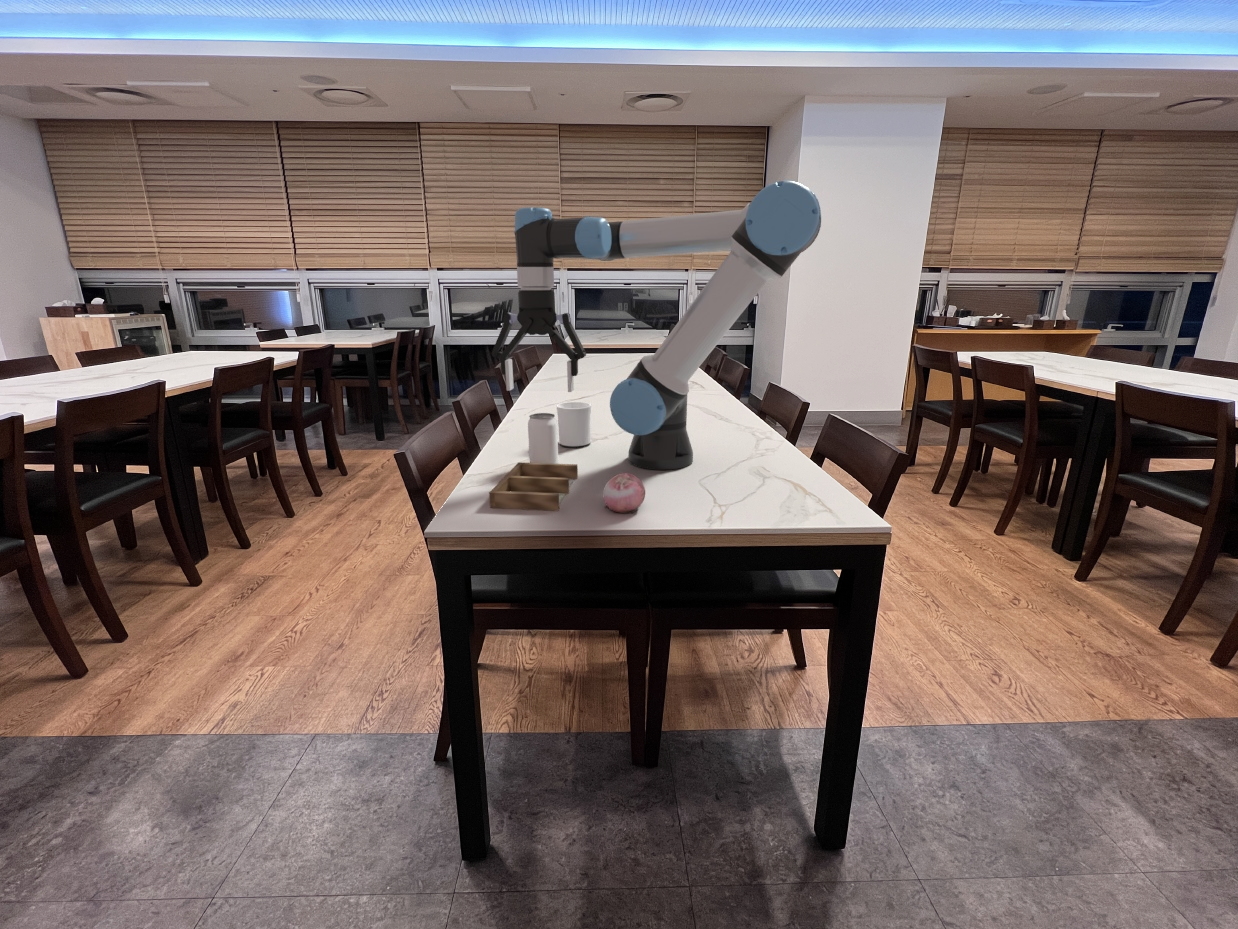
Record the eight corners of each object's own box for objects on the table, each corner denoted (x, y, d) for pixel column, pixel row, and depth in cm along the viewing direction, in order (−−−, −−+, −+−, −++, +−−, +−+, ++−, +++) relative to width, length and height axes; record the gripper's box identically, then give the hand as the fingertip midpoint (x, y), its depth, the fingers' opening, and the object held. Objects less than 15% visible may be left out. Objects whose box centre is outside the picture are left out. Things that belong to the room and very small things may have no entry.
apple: (619, 523, 105) (605, 489, 102) (603, 512, 112) (589, 479, 109) (656, 503, 107) (644, 469, 105) (638, 494, 114) (626, 461, 112)
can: (553, 472, 130) (551, 419, 126) (526, 470, 131) (523, 418, 127) (562, 463, 136) (560, 413, 132) (535, 462, 137) (533, 412, 133)
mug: (591, 448, 148) (590, 408, 145) (555, 448, 148) (554, 408, 145) (593, 437, 158) (592, 400, 155) (560, 437, 158) (559, 400, 155)
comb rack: (577, 477, 126) (577, 464, 125) (558, 510, 108) (557, 495, 107) (519, 475, 128) (518, 462, 127) (490, 507, 110) (489, 492, 109)
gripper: (598, 288, 124) (599, 388, 130) (484, 288, 127) (490, 386, 133) (592, 289, 117) (593, 394, 123) (471, 289, 120) (479, 392, 126)
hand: (540, 390), depth 128 cm, fingers open, 13 cm apart
